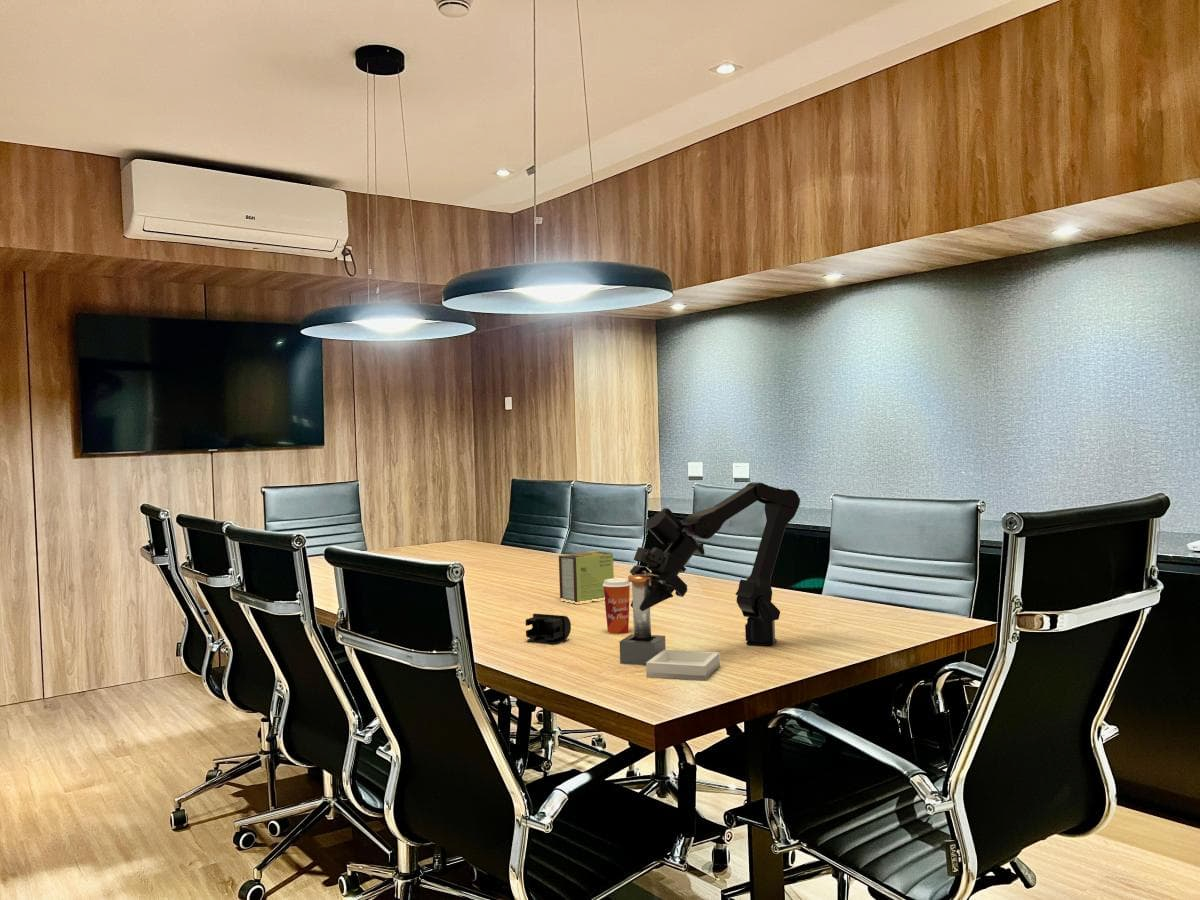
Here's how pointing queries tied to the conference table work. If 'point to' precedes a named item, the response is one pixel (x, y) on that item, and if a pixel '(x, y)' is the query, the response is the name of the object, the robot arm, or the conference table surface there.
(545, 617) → the end cap
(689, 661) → the tray
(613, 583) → the paper cup
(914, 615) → the conference table surface
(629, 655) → the block
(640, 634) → the hitch pin
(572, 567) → the protein box
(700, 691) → the conference table surface
